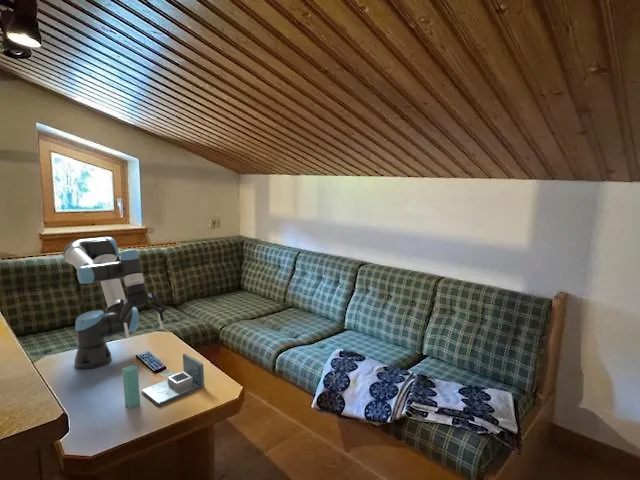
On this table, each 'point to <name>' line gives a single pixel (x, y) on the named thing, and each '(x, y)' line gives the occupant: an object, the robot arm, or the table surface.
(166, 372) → the mounting bracket
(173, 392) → the cup bracket
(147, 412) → the table surface
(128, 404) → the teal block
